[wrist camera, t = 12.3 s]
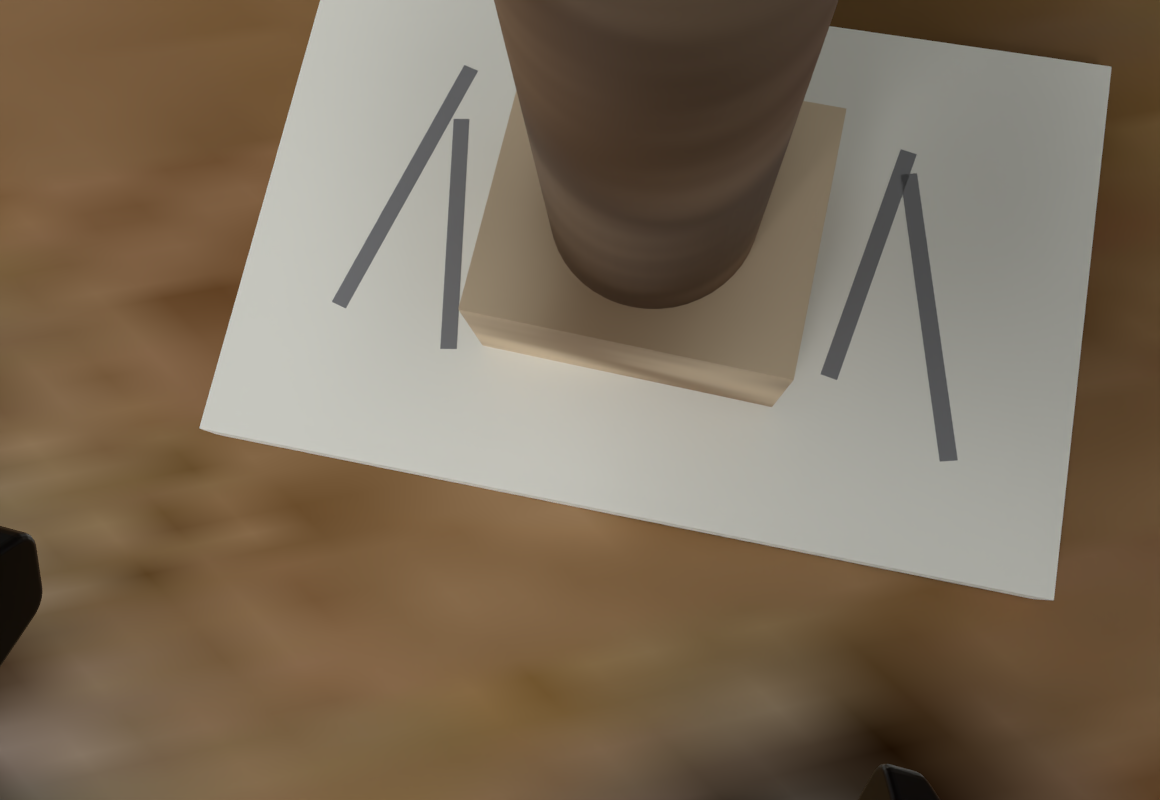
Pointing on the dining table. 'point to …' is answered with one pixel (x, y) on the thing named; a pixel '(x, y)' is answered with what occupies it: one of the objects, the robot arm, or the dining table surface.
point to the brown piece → (658, 190)
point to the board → (672, 414)
